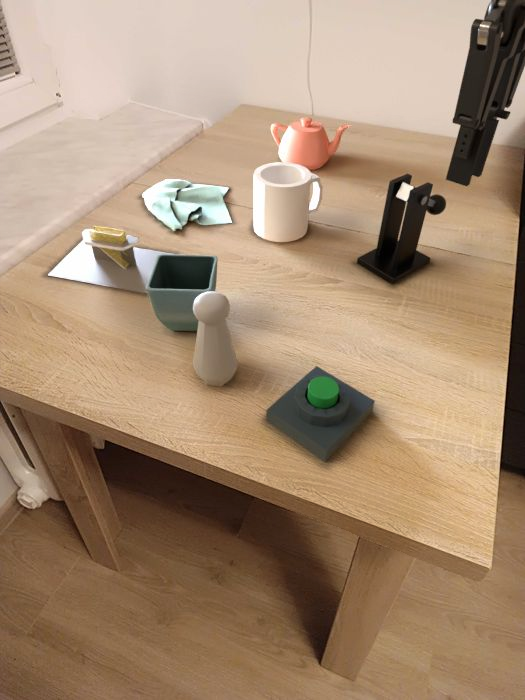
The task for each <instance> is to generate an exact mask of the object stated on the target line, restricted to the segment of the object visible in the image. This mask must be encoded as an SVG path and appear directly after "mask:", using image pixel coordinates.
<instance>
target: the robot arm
mask: <svg viewBox="0 0 525 700" xmlns="http://www.w3.org/2000/svg"><path fill="white" fill-rule="evenodd" d="M469 35H470V36H469V46H468V52H467V56H466V60H465V67H464V70H463V75H462V79H461V82H460V88H459V93H458V97H457V100H456V101H457V102H456V107H455V111H454V115H453V118H452V124H454V125H458V126H459V129H458V132H457V136H456V139H455V144H454V147H453V151H452V154H451V159H450V162H449V166H448V169H447V173H446V176H445V180H446V181H449V182H452V183H454V184H458V185H461V186H463V187H468V186H470V184H471V181H472V178H473V177H476V178H480V177H481V176H482V175H483V171H484V169H485V165H486V163H487V159H488V157H489V153H490V150H491V147H492V144H493V141H494V138H495V135H496V132H497V128H498V125H499V122H500V120H499V119H502V120H505V121H506V120H508V119H509V117H510V115H511V111H508V110H505V109H506V108H507V109H509V108H510V107H511V106H512V103H513V99H514V97H515V94H516V91H517V89H518V86H519V84H520V81H521V77H522V75H523V72H524V69H525V0H490V2H489V3H488V5H487V7H486V11H485V14H484V17H483V19H481V18H475V19H474V20H473V21H472V24H471V26H470V33H469Z"/></svg>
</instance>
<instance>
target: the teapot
mask: <svg viewBox="0 0 525 700" xmlns="http://www.w3.org/2000/svg"><path fill="white" fill-rule="evenodd" d="M350 127H351V124H345V125H341V126H339V127H338V128H337V131H336V133H335V136H334V139H332V141H330V139H329V136H328V134H327V131H326V130H325V129H326V128H324V126H323V123H321V122H319V121H316V120H313V119H312V117H307V116H305V117H302V118H300V119H299V120H295V121H293V122H291V123H290V124H289V126H286V125H283V124H281V123H276V122H275V123H272V124H271V125H270V131H271V132H270V133H271V135H272V137H273V139H274V141H275V143H276V145H277V146H278V157H279V159H280V160H281V162H288V163H294V164H299V165H301V166H304V167H306V168H307V169H308V170H309V171H313V170H318V169H320V168H321V167H323V166H324V165H325V164H326V163H327V162H328V161H329V159H330V157H331V155H333V154H335V153H336V152H337V150H338V149H339V146H340V143H341V139H342V136H343V133H344V132H345V131H346V130H347V129H348V128H350ZM279 130H282V131H285V132H284V134H283V136H282V138H281V139H280V136H279V132H278V131H279Z"/></svg>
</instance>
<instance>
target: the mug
mask: <svg viewBox="0 0 525 700" xmlns="http://www.w3.org/2000/svg"><path fill="white" fill-rule="evenodd" d="M312 185H313V188H312ZM311 189H312V197H311ZM323 189H324V186H323V184H322V181H321V177H320V176H319V175H316V174H315V173H312V171H311V170H308V169H307V168H306V167H304V166H301V165H299V164H294V163H288V162H282V161H275V162H268V163H264V164H262V165H260V166H258V167H257V168H256V169H255V170H254V172H253V230H254V232H255V233H256V235H257V236H258V237H261V238H262V239H264V240H266V241H268V242H269V241H270V242H274V243H275V242H276V243H288V242H289V243H290V242H293V241H297V240H300V239H301V238H303V237H304V236H305V235H306V234H307V231H308V226H309V214H312V213H316V212H318V211H319V209H320V206H321V202H322V200H323Z"/></svg>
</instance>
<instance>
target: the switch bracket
mask: <svg viewBox="0 0 525 700" xmlns="http://www.w3.org/2000/svg"><path fill="white" fill-rule="evenodd" d="M412 179H413V175H412V174H410V173H405V174H403V175H400V176H398V177H396V178H393V179H391V180H389V181H388V187H387V191H386V197H385V202H384V208H383V214H382V218H381V223H380V229H379V234H378V239H377V243H376V248H375V249H372V250H370V251H368V252H366V253H364V254H362V255H360V256H358V257H357V259H356V264H357V265H358V266H360V267H362V268H363V269H365V270H367V271H369V272H370V273H371V274H373V275H375V276H377V277H379V278H380V279H381V280H384V281H385V282H387V283H389V285H394V284H396V283H398V282H400V281H402V280H403V279H405V278H406V277H408V276H410V275H412V274H413V273H416V272H417V271H418V270H420V269H422V268H424V267H426V266H428V265H429V264H430V263H431V260H432V258H431V257H430V256H428V255H427V254H424V253H422V252H421V251H420V250H417V249H418V245H419V242H420V237H421V233H422V229H423V226H424V222H425V219H426V214H427V207H428V203H429V199H430V196H432V190H433V187H434V184H433V183H431V182H428V181H427V182H425V183H423V184H420V185H419V186H417V187H416V186H415V187H416V188H414V189H412V190H410V193H409V198H408V202H406V201H404V200H402V199H399V198H397V197H396V195H397V193H398V191H399V189H400V187H401V185H402V183H403V182H405V183H407V184H409V185H411V183H412Z"/></svg>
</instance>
